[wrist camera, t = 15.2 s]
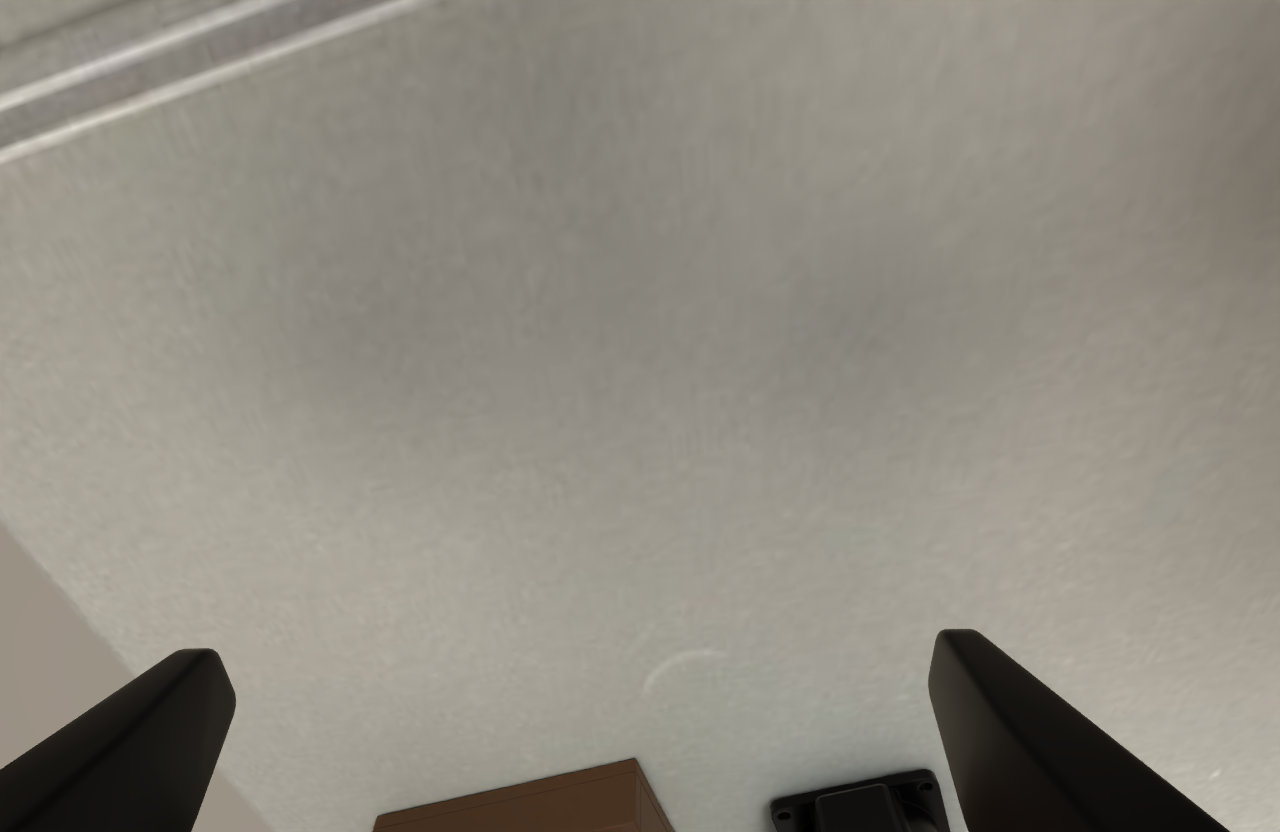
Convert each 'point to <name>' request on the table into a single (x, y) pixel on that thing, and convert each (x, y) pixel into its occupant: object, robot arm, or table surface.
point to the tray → (546, 806)
